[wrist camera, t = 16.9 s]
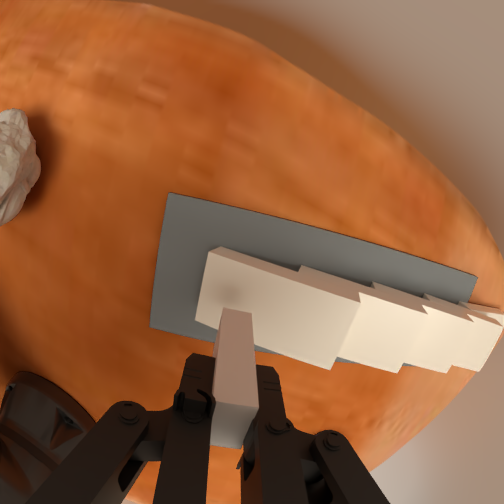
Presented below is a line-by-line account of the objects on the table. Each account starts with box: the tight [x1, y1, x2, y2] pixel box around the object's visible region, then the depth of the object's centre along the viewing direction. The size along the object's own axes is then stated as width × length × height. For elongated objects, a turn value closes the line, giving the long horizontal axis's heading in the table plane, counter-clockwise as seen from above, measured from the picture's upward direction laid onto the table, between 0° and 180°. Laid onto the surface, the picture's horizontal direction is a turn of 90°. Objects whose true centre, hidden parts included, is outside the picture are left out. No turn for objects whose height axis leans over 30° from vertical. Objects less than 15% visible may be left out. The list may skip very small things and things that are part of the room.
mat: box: [149, 192, 478, 366], centre depth 22 cm, size 30×11×1 cm, turn 76°
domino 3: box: [370, 281, 474, 373], centre depth 20 cm, size 2×5×10 cm
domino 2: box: [298, 265, 428, 373], centre depth 19 cm, size 2×5×10 cm
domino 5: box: [422, 293, 504, 372], centre depth 20 cm, size 2×5×10 cm
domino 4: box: [458, 301, 504, 326], centre depth 23 cm, size 2×5×10 cm
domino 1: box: [195, 246, 361, 370], centre depth 18 cm, size 2×5×10 cm
